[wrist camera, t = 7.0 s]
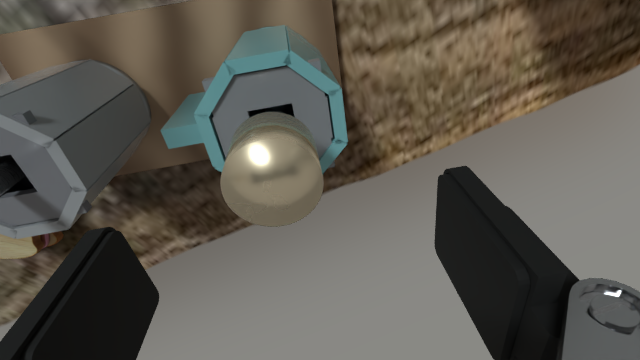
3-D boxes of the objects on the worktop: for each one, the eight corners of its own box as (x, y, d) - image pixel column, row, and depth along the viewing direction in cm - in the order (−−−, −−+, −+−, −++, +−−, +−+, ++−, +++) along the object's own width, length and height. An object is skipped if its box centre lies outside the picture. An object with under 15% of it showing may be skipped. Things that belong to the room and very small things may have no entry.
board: (327, -24, 26) (329, -24, 25) (345, 129, 33) (347, 133, 32) (-3, 35, 26) (-15, 37, 24) (84, 176, 32) (78, 183, 31)
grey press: (126, 51, 26) (27, 96, 16) (165, 140, 30) (107, 222, 20) (-5, 74, 26) (-191, 135, 16) (52, 161, 30) (-66, 254, 20)
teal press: (313, 17, 26) (336, 41, 16) (327, 111, 30) (351, 176, 20) (184, 41, 26) (123, 79, 16) (215, 131, 30) (182, 208, 20)
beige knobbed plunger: (302, 39, 26) (331, 108, 12) (313, 106, 28) (347, 226, 14) (233, 51, 25) (179, 136, 11) (251, 117, 28) (225, 249, 14)
